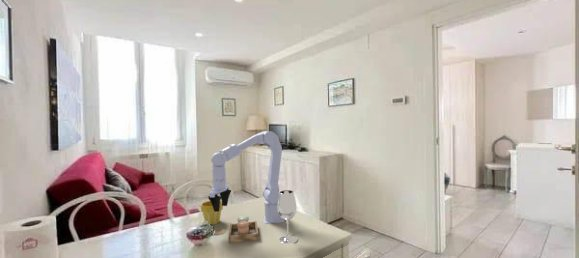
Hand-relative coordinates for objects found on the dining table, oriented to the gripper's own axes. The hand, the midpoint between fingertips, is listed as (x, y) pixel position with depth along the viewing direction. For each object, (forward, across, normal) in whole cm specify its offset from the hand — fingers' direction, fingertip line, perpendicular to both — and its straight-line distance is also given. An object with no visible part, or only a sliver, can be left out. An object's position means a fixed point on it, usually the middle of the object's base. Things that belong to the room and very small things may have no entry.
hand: (220, 208), depth 123 cm
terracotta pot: (+9, +7, +14) cm, 18 cm away
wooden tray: (+10, +4, +13) cm, 16 cm away
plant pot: (+10, -7, -9) cm, 15 cm away
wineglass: (+10, +5, +33) cm, 35 cm away
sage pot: (+9, +1, +11) cm, 15 cm away
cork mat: (+10, +4, 0) cm, 10 cm away
